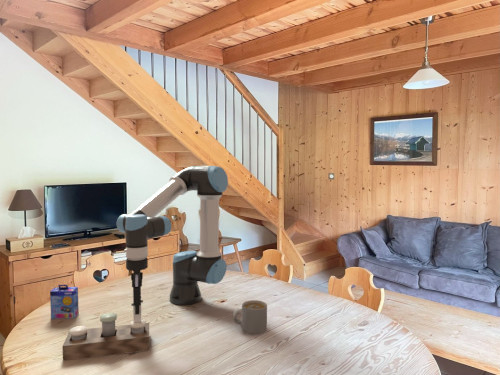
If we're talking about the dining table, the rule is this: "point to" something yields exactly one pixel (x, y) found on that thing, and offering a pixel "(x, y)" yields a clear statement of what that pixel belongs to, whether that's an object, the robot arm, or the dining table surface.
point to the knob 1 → (78, 332)
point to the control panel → (106, 343)
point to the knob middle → (108, 324)
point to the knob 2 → (137, 326)
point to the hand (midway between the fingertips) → (137, 321)
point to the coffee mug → (252, 317)
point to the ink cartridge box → (64, 302)
